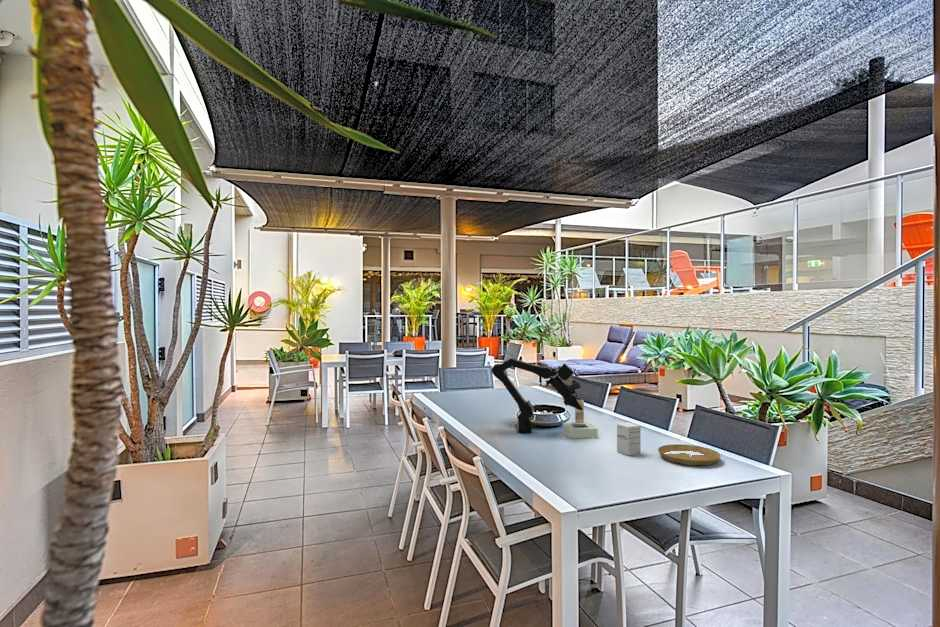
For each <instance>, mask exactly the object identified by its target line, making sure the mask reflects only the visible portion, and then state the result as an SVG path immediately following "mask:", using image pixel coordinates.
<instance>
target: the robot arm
mask: <svg viewBox="0 0 940 627" xmlns="http://www.w3.org/2000/svg"><path fill="white" fill-rule="evenodd" d="M511 367H513V368H517V369H519V370H520V369H521V370H524V371H527V372H530V373H533V374H535V375H537V376H538V377H540V378H542V379H544V380H545V386H546V387H548V386H549V385H550V386H551V387H552V388H553V389H554V390H555V391H556V393H557V394H558V395H560V396H561V397H562V399H563V404H564V405H565V406H568V407H573V408H574V409H575V408H576V409H579V410H581V411H582V410H583V408H582V407H581V406H580V404H579V403H578V401H577V399H578V393H577V392H578V391H577V390H578V389H581V388H582V386H581V383H580V381H579V380H576V379H573V380H572V382H571V383H570V384H568V383H566V382H564V381H567V380H569V379H570V378H571V377H572V376H573V375H574V374H575V371H574V370H573V369H572V368H571V367H570V366H568V365H567V363H563V364H562V365H561V366H560V367H559V369H553V368H551V367H550V366H547V365H535V364H534V363H530V362H527V361H523V360H519V359H516V358H514V357H510V358H509V359H508V360H506V361H503V362H502V363H495V364H494V365H492V367H491V373H492V375H493V376H494V377H495V378H496V379H498V380H499V381H500V382H501V383H502V384H503V386H504V387H505V389H506V390H507V391H508V392H509V394H510V395H511V397H512V399H513V400H514V401H515V402H516V404H517V406H518V409H519V412H520V413H519V414H518V416H517V417H516V418H517V429H516V430H518V431H517V433H519V434H525V433H524V432H531V433H532V430H533V428H532V426H533V425H532V422H531V419H530V418H532V416H533V414H534V412H535V409H534V405H533V404H532V403H531V401H530V400H529V399H528V400H526V399H525V398H524V397H523V395H522V394H521V393H520V392H519V390H518V389H517V387H516V386H515V385H514V383H513V382H512V379H510V377H509V375H508V373H507V369H509V368H511Z"/></svg>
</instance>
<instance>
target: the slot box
mask: <svg viewBox="0 0 940 627" xmlns="http://www.w3.org/2000/svg"><path fill="white" fill-rule="evenodd" d="M562 432H563V434H565V435H566V437H569V438H573V439H593V438H592V437H598V436H599V432H598V427H596V426H595V425H593V423H591V422H589V421H584V423H575V422H562ZM569 438H568V439H569ZM598 438H599V437H598Z"/></svg>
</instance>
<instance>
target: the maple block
mask: <svg viewBox="0 0 940 627" xmlns="http://www.w3.org/2000/svg"><path fill="white" fill-rule="evenodd" d="M577 401H578V403H579V404H580V406H581V407H582V408H583V410H582V411H581V410H579V409H576V408H574V409H575V412H574V415H575V416H574V418H575V419H574V420H575V422H574V423H584V422H585V421H584V420H585V418H584V414H585V412H584V409H585V407H584V406H585V405H584V404H585V402H584V401H585V400H584V399H578V398H577Z"/></svg>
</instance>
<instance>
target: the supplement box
mask: <svg viewBox="0 0 940 627" xmlns="http://www.w3.org/2000/svg"><path fill="white" fill-rule="evenodd" d="M641 427H642V426H641V425H640V424H637V423H636V424H635V423H633V422H629V421H626V422H625V421H624V422H619V423H617V424H616V452H618V453H620V454H623V455H625V456H629V457H631V456H636V455H635V454H637V455H641V446H642V444H641V440H642V439H641V434H642V433H641V432H642V430H641ZM630 455H631V456H630Z"/></svg>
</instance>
